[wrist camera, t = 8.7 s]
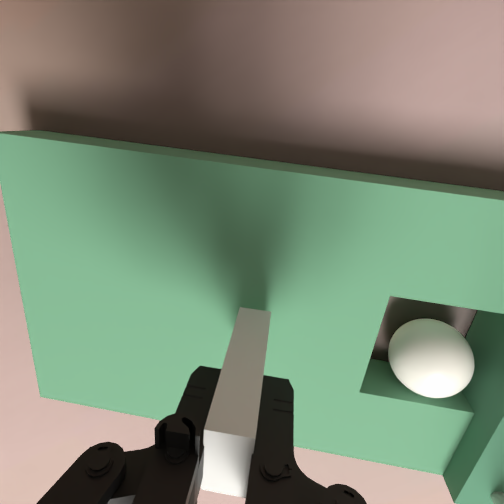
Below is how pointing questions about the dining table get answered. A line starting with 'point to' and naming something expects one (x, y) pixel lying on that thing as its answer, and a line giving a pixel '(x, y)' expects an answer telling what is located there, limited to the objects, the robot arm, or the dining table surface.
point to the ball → (431, 358)
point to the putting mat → (257, 290)
